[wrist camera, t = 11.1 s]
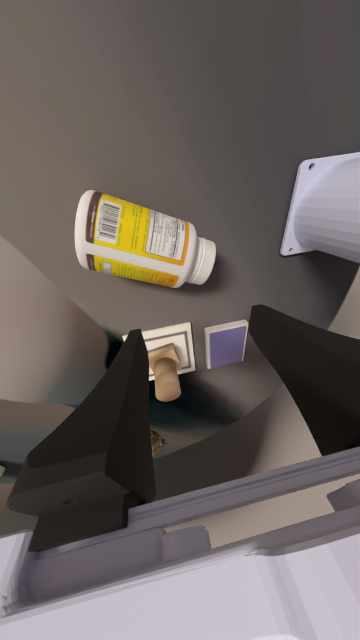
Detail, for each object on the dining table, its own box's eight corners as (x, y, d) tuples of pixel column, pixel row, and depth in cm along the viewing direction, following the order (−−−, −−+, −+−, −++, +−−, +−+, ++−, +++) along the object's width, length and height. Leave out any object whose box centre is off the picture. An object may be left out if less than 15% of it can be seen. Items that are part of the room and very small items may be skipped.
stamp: (172, 342, 25) (179, 379, 20) (180, 360, 27) (188, 397, 22) (145, 351, 25) (146, 390, 20) (155, 368, 27) (158, 406, 22)
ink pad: (245, 319, 25) (249, 324, 24) (240, 356, 30) (243, 362, 29) (204, 327, 24) (207, 333, 23) (206, 364, 29) (208, 370, 28)
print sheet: (189, 322, 23) (190, 323, 23) (194, 368, 29) (195, 370, 29) (122, 335, 23) (122, 337, 22) (141, 380, 29) (141, 382, 28)
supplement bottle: (91, 255, 17) (189, 278, 20) (72, 279, 12) (201, 305, 16) (93, 185, 14) (208, 226, 17) (69, 185, 9) (230, 240, 13)
